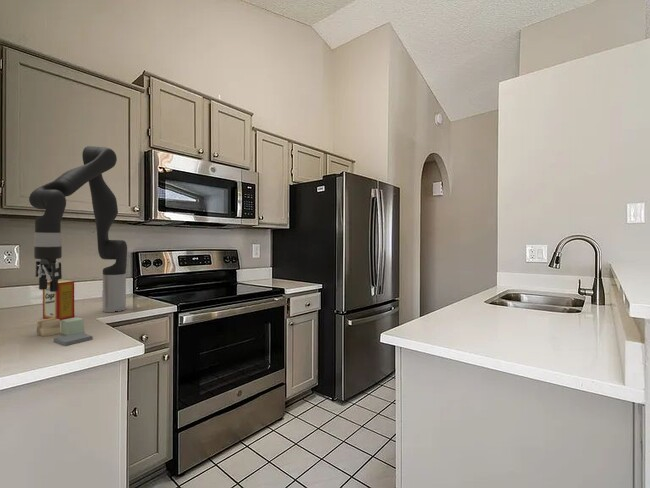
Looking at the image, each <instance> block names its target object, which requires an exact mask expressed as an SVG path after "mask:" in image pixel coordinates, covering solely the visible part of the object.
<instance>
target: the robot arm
mask: <svg viewBox="0 0 650 488" xmlns="http://www.w3.org/2000/svg"><path fill="white" fill-rule="evenodd" d="M82 162H83V164H82V165H80V166H77V167H74V168H72V169H69V170H67V171H65V172H63V173H62V174H60V176H58V177H57V178H56V179H54V180H53V181H50V182H47V183H46V184H43V185H41V186H39V187H37V188H35V189H33V191H32V192H31V193H30V194H29V198H28V202H29V205H31V206H32V208H35V209H37V210H45V211H44V214H43V215H39V216H36V218H35V220H34V238H33V239H34V240H33V241H34V242H33V249H34V250H33V252H34V253H33V255H34V256H33V257H34V259H35V278H37V279H38V289H39V290H40V291H41V290H42V291H43V290H44V289H47V281H50V292H56V291H58V281H59V280H63V279H62V278H63V276H62V262H57V259H62V257H63V254H62V253H63V252H62V249H63V248H62V245H63V244H62V242H63V241H62V240H63V239H62V234H61V233H62V231H61V229H62V227H61V226H62V224H61V223H62V218H63V216H64V213H65V211H66V210H65V209H66V206H67V199H66V197H70V196H72V195H73V194H75V192H77V191H79V189H80V188H82V187H83V186H84V185H85V184H87V183H88V185H89V190H90V195H91V203H92V204H91V205H92V210H93V215H94V221H95V226H96V227H95V228H96V239H97V253H98V256H99V257H100V259H102V260H105V261H106V260H107V261H108V260H114V261H115V262H114V264H112V265H109V266H107V267H103V269H102V294H101V295H102V296H101V298H102V305H101V306H102V308H101V309H102V312H104V313H116V312H115V311H118V312H122V311H121V310H123V311H125V310H126V309H127V282H126V281H127V265H128V264H127V260H128V244H127V242H126V240H123V239H109V233H110V232H109V231H110V228H111V227H112V225H113V223H114V222H115V219H116V218H117V216H118V213H119V208H118V201H117V197H116V195H115V193H114V192H113V191H112V189H111V188H110V187H109V186H108V184H107V182H106V181H105V180H104V177H103V174H104V173H105V172H108V171H109V170H111V169H113V168H115V165H116V163H117V154H116V152H115V151H114V150H113V149H112V148H109V147H105V146H92V145H88V146H85V147H84V148H83V151H82Z"/></svg>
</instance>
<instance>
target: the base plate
mask: <svg viewBox="0 0 650 488" xmlns="http://www.w3.org/2000/svg"><path fill="white" fill-rule="evenodd" d="M91 340H94V339H93V335H91V334H87V333H85V332H83V333H82V332H79V333H75V334H70V335H61V336H57V337H54V338H53V342H54V343H57V344H59V345H61V346H64V347H66V346H70V345H74V344H79V343H82V342H87V341H91Z"/></svg>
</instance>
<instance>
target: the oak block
mask: <svg viewBox="0 0 650 488" xmlns="http://www.w3.org/2000/svg"><path fill="white" fill-rule="evenodd" d="M60 333H61V320H60V319H56V318H49V319H38V320H36V335H37V336H40V337H42V338H43V337H47V336H52V335H57V334H60Z"/></svg>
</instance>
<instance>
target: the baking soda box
mask: <svg viewBox="0 0 650 488" xmlns="http://www.w3.org/2000/svg"><path fill="white" fill-rule="evenodd" d="M49 318H56V319H60V321H61V320H64V319H70V318H75V281H74V280H66V279H59V281H58V291H56V292H50V280H47V289H44V290H42V320H44V319H49Z"/></svg>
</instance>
